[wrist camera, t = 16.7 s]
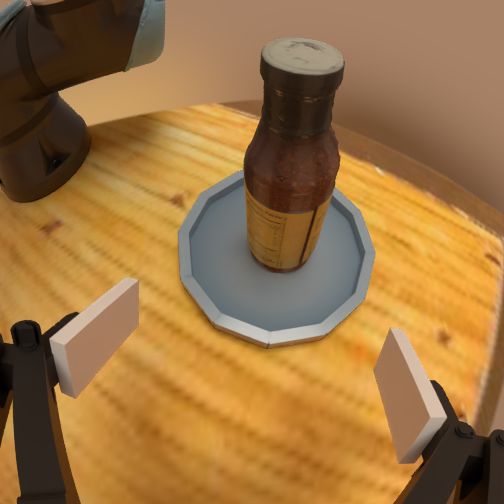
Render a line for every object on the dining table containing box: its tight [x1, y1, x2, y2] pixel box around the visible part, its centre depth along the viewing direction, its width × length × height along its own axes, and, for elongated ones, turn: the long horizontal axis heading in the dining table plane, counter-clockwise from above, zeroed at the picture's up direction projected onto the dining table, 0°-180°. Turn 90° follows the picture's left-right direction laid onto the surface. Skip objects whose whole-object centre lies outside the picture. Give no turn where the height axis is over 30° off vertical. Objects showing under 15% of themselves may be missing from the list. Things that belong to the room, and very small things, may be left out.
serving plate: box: [178, 170, 375, 349], centre depth 30 cm, size 18×18×2 cm
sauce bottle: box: [243, 37, 345, 273], centre depth 22 cm, size 6×6×20 cm
